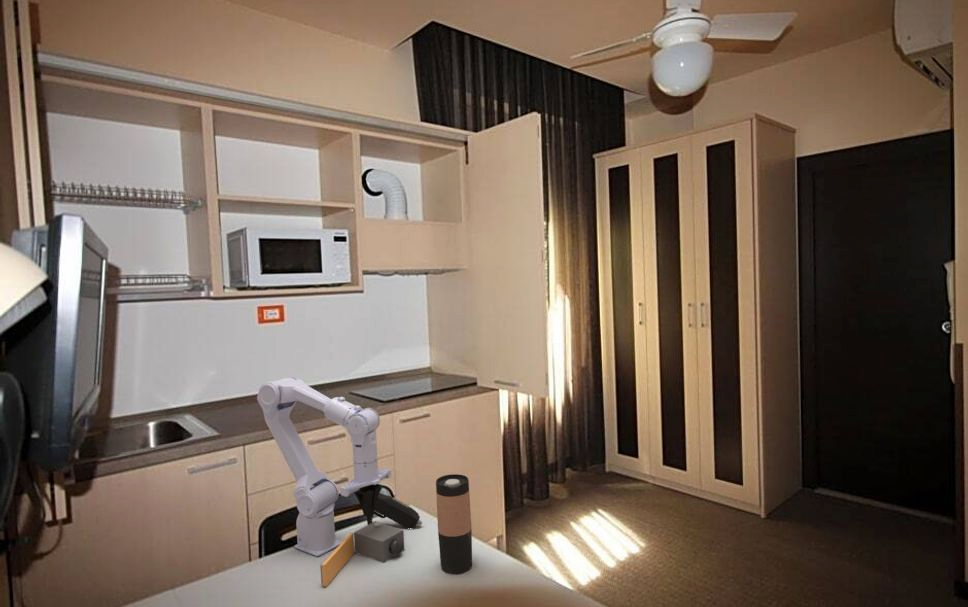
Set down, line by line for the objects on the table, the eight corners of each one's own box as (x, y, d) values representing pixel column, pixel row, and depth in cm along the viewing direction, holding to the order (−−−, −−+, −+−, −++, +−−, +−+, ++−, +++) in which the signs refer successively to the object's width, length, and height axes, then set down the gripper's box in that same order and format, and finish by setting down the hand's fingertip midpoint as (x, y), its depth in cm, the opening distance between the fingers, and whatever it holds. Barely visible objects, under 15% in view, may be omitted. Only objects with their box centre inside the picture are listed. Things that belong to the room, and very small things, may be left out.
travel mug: (454, 554, 129) (449, 472, 128) (480, 563, 124) (475, 477, 124) (433, 569, 123) (428, 482, 122) (459, 578, 118) (454, 488, 118)
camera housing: (355, 552, 133) (353, 529, 132) (376, 540, 138) (375, 519, 138) (388, 564, 126) (387, 540, 126) (409, 551, 132) (408, 529, 131)
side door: (349, 551, 133) (348, 532, 132) (354, 551, 132) (353, 532, 132) (320, 586, 117) (319, 564, 117) (326, 586, 117) (325, 564, 117)
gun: (408, 550, 144) (423, 517, 143) (356, 520, 147) (370, 488, 146) (412, 544, 147) (426, 513, 146) (361, 516, 150) (375, 484, 148)
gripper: (353, 471, 123) (356, 530, 123) (398, 454, 134) (401, 508, 135) (333, 467, 127) (336, 524, 127) (378, 450, 139) (381, 502, 139)
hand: (368, 515), depth 131 cm, fingers closed
